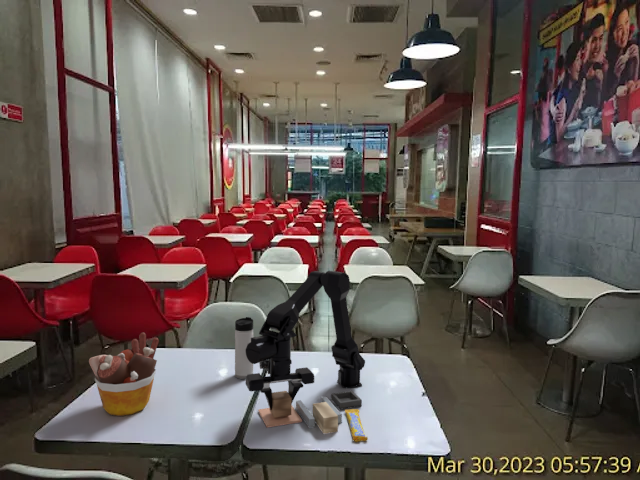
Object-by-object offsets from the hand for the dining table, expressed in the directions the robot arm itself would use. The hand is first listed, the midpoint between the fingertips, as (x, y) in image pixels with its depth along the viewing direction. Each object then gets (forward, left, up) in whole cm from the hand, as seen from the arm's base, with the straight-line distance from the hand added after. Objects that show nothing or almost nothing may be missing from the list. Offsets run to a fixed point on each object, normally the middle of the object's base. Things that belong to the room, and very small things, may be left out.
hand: (279, 408), depth 129 cm
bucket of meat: (+41, -20, -3) cm, 45 cm away
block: (0, +1, -1) cm, 1 cm away
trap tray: (-21, -2, -2) cm, 22 cm away
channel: (-10, +3, -2) cm, 11 cm away
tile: (0, 0, -2) cm, 2 cm away
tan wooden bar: (-10, +9, -3) cm, 14 cm away
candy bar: (-18, +12, -3) cm, 22 cm away
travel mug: (+4, -33, -3) cm, 33 cm away
